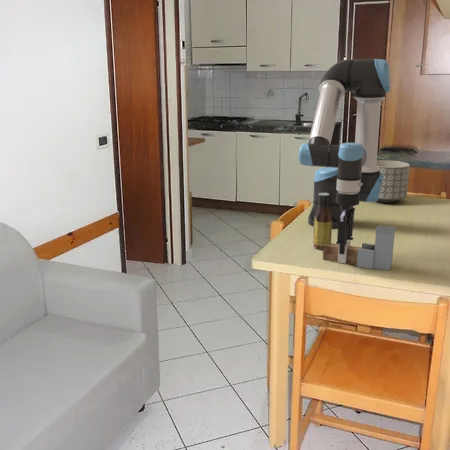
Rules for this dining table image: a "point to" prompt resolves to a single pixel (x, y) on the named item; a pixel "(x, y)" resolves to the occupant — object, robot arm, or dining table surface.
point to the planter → (393, 180)
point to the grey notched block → (378, 250)
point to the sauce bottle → (322, 222)
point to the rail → (332, 253)
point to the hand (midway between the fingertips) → (343, 260)
